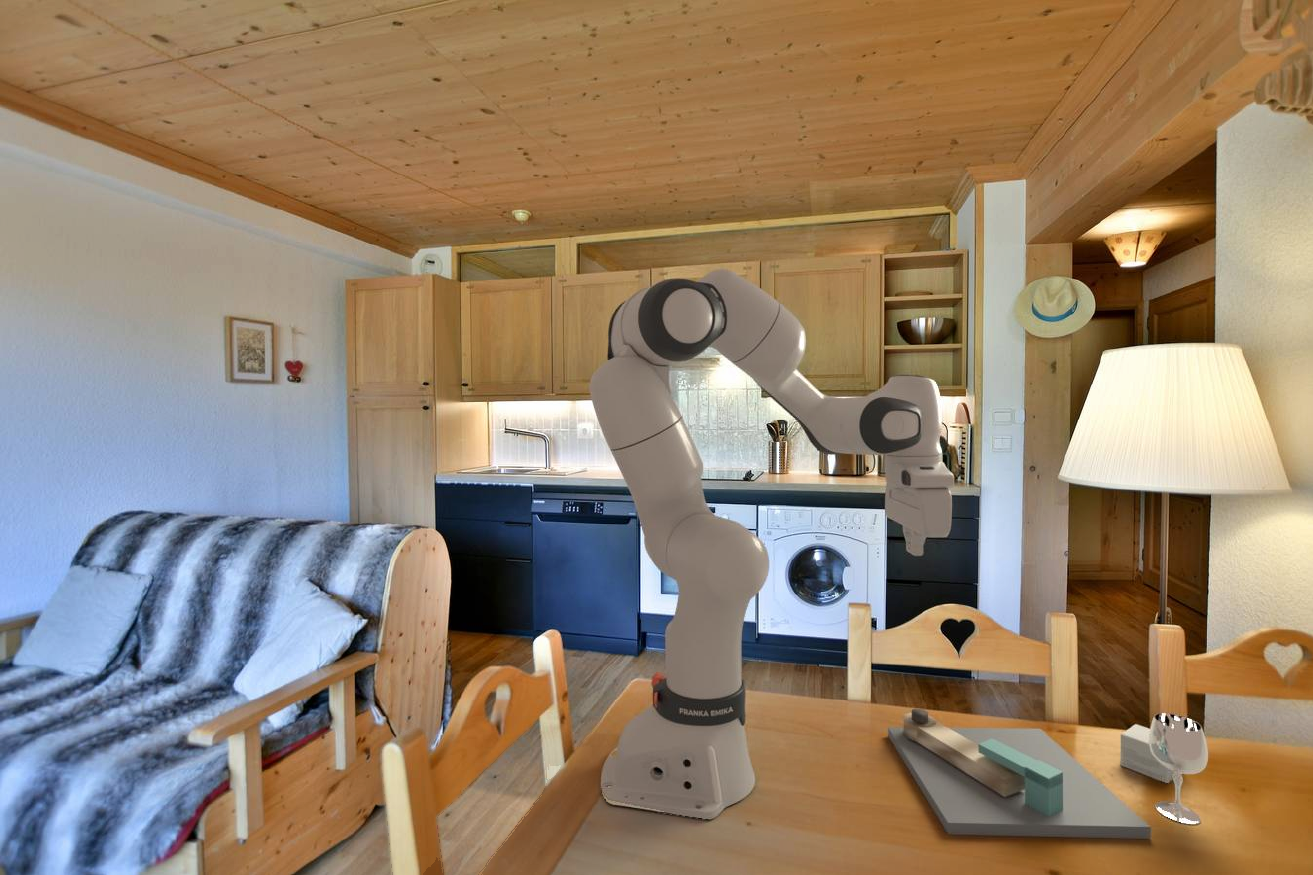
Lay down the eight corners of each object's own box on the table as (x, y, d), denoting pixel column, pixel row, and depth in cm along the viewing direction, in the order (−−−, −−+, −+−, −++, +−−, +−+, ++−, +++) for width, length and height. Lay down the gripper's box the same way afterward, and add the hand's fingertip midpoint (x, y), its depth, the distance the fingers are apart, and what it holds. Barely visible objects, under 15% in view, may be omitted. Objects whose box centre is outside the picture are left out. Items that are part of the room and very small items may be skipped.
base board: (948, 834, 74) (948, 822, 73) (888, 736, 96) (888, 727, 96) (1150, 838, 72) (1150, 826, 72) (1040, 737, 95) (1040, 728, 95)
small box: (1182, 771, 85) (1182, 738, 85) (1168, 785, 82) (1168, 751, 82) (1134, 753, 90) (1134, 721, 90) (1119, 766, 87) (1119, 733, 87)
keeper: (978, 776, 83) (978, 742, 83) (992, 770, 84) (992, 736, 84) (1049, 816, 74) (1048, 778, 74) (1063, 809, 75) (1062, 771, 75)
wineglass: (1220, 830, 73) (1219, 735, 73) (1166, 825, 74) (1166, 731, 74) (1188, 801, 79) (1188, 712, 78) (1139, 796, 80) (1138, 709, 80)
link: (896, 730, 94) (896, 708, 94) (919, 724, 96) (919, 702, 96) (1002, 797, 77) (1001, 770, 77) (1027, 788, 79) (1027, 761, 79)
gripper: (875, 467, 109) (876, 541, 110) (916, 478, 89) (917, 569, 89) (910, 466, 109) (911, 541, 109) (959, 477, 89) (960, 568, 89)
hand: (914, 553), depth 99 cm, fingers closed
